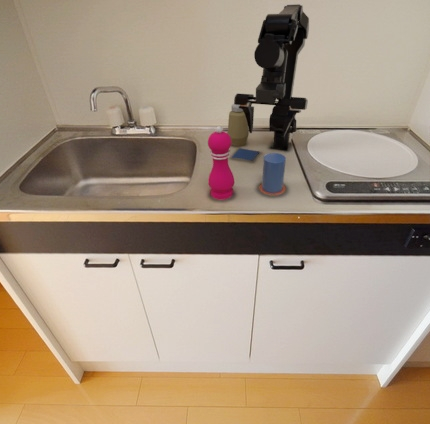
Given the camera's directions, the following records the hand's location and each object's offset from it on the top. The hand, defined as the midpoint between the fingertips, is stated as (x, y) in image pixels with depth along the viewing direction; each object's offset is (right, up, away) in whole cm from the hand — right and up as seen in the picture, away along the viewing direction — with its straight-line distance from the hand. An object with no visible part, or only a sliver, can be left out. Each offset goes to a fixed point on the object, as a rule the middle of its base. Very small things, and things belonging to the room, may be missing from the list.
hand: (266, 134), depth 78 cm
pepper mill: (-12, -17, +3) cm, 21 cm away
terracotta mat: (+2, -15, +4) cm, 15 cm away
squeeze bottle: (-6, +5, +31) cm, 32 cm away
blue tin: (+2, -14, +4) cm, 15 cm away
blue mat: (-4, -1, +22) cm, 23 cm away
